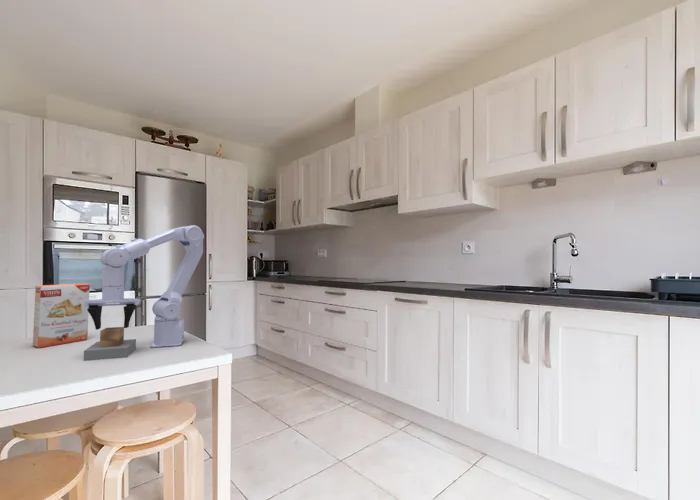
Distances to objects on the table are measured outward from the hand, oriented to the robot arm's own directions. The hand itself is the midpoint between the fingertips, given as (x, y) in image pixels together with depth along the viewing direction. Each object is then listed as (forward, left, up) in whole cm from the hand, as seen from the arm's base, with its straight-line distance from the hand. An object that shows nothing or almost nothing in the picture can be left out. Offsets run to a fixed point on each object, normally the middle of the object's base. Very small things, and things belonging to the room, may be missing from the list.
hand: (112, 328), depth 105 cm
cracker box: (+21, -20, -9) cm, 30 cm away
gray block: (0, 0, -9) cm, 9 cm away
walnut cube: (0, 0, -5) cm, 5 cm away
